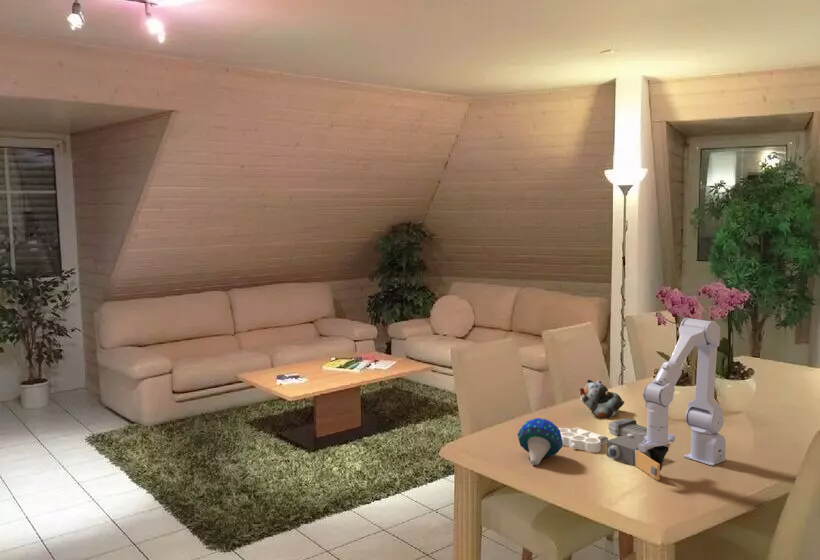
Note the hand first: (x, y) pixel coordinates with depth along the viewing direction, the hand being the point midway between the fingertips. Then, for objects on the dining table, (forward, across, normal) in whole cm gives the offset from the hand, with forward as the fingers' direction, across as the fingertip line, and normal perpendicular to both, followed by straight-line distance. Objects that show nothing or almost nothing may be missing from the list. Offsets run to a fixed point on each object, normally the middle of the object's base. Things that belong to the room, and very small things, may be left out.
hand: (656, 470), depth 200 cm
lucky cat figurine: (+2, -34, -49) cm, 60 cm away
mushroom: (+2, +17, -30) cm, 34 cm away
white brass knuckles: (+2, -3, -32) cm, 32 cm away
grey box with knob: (+2, -7, -14) cm, 15 cm away
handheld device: (+2, -22, -23) cm, 32 cm away
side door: (+1, +1, -3) cm, 3 cm away
